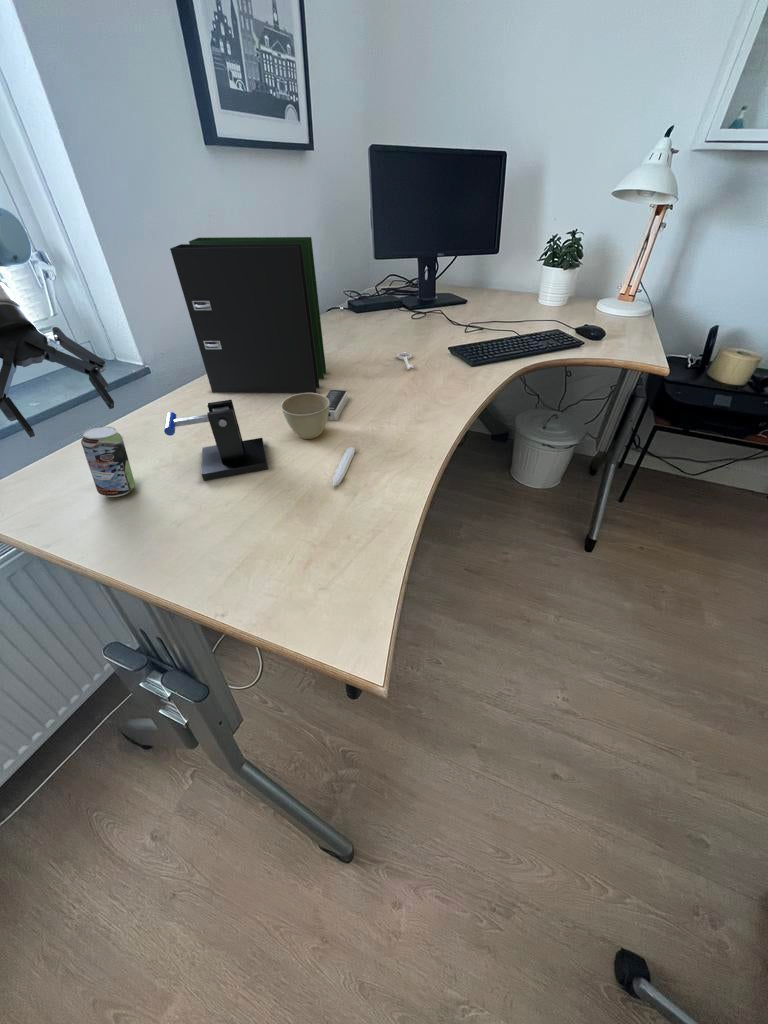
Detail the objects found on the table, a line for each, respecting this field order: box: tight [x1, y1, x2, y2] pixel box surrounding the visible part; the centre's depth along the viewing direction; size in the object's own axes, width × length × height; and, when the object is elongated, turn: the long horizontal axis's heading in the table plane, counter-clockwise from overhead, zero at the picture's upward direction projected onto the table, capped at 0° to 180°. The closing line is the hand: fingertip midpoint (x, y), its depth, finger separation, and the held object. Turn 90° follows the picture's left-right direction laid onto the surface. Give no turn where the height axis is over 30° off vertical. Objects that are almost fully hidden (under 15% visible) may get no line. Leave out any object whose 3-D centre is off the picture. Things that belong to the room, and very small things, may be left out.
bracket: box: [201, 399, 269, 482], centre depth 83 cm, size 12×10×12 cm
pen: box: [332, 446, 356, 487], centre depth 83 cm, size 2×14×2 cm, turn 169°
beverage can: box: [81, 426, 136, 498], centre depth 76 cm, size 6×7×12 cm
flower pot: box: [280, 392, 330, 440], centre depth 92 cm, size 10×10×7 cm
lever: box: [163, 406, 229, 437], centre depth 79 cm, size 11×6×2 cm, turn 107°
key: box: [396, 351, 414, 371], centre depth 124 cm, size 12×1×4 cm
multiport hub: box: [325, 389, 349, 421], centre depth 102 cm, size 4×11×2 cm, turn 169°
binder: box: [169, 236, 327, 394], centre depth 105 cm, size 27×15×32 cm, turn 84°
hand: (73, 419), depth 78 cm, fingers open, 13 cm apart
